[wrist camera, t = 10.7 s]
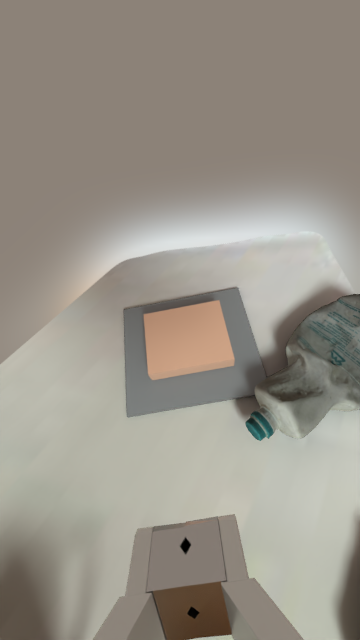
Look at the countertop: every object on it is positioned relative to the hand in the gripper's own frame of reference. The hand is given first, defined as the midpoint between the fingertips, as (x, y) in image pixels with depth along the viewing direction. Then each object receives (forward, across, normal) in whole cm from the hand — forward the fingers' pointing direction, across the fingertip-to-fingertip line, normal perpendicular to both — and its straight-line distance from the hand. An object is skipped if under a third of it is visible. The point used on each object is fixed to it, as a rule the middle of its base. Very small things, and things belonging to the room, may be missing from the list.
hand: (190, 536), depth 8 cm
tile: (+28, 0, +8) cm, 29 cm away
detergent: (+28, -17, +12) cm, 34 cm away
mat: (+33, 0, +6) cm, 33 cm away
